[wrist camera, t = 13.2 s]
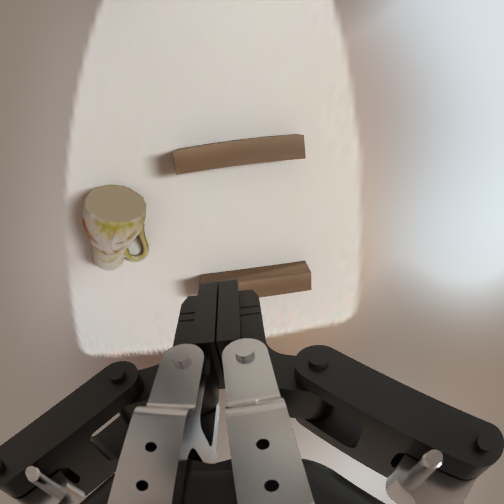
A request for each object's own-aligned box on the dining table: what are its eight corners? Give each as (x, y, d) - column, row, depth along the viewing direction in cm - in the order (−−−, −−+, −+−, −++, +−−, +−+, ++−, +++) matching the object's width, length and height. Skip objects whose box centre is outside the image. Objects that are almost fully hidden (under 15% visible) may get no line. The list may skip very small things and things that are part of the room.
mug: (89, 255, 35) (48, 246, 25) (124, 190, 36) (93, 162, 26) (133, 284, 35) (100, 284, 25) (170, 215, 36) (149, 192, 26)
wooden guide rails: (177, 148, 30) (172, 151, 27) (297, 134, 30) (303, 135, 27) (204, 291, 37) (202, 304, 35) (305, 277, 38) (311, 289, 35)
